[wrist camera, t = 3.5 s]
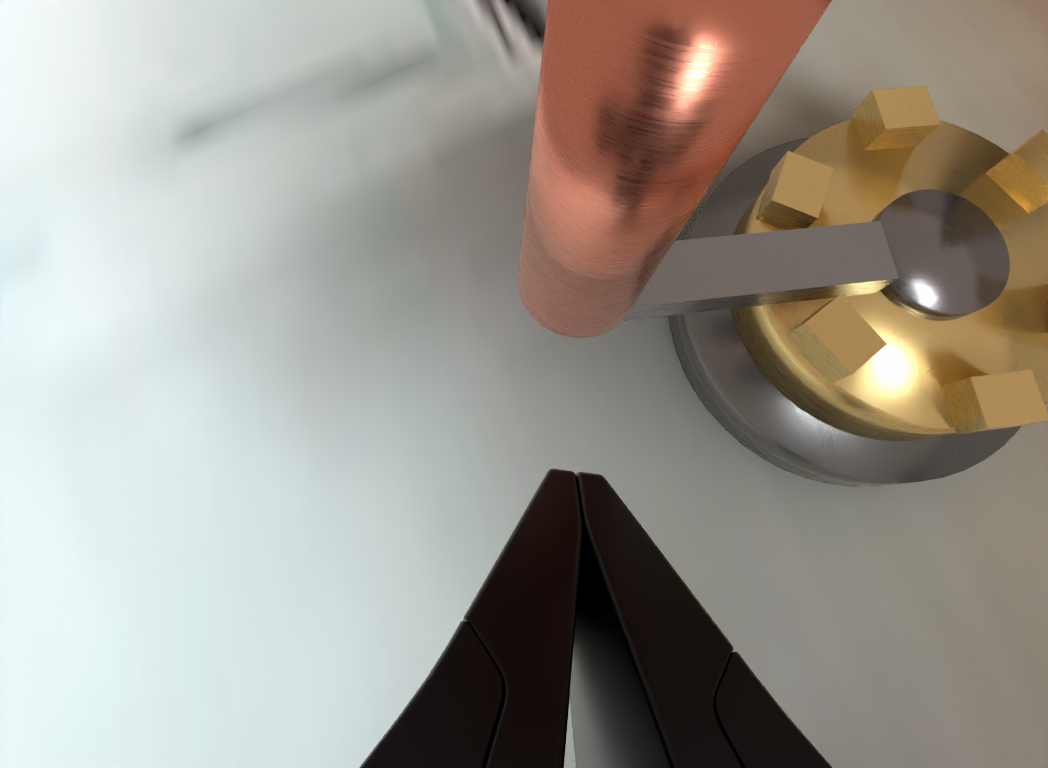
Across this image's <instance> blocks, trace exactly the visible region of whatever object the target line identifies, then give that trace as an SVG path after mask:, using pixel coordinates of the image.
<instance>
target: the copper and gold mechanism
mask: <svg viewBox="0 0 1048 768" xmlns="http://www.w3.org/2000/svg"><path fill="white" fill-rule="evenodd" d="M831 1H832V0H548V8H547V17H546V26H545V35H544V44H543V53H542V62H541V71H540V80H539V90H538V99H537V108H536V117H535V126H534V135H533V144H532V153H531V162H530V171H529V180H528V189H527V198H526V207H525V217H524V226H523V235H522V244H521V253H520V262H519V271H518V288H519V292H520V296H521V299H522V301H523V303H524V305H525V307H526V309H527V310H528V311H529V313H530V314H531V315H532V316H533V318H534V319H535V320H536V321H538V322H539V323H540V324H541V325H543V326H544V327H546V328H547V329H549V330H551V331H553V332H555V333H558V334H561V335H564V336H569V337H578V338H582V337H591V336H596V335H599V334H602V333H605V332H607V331H609V330H611V329H612V328H614V327H615V326H616V325H618V324H619V323H620V322H621V321H623V320H632V319H642V318H651V317H660V316H669V315H678V314H688V313H697V312H706V311H715V310H724V309H730V312H731V315H732V318H733V321H734V325H735V327H736V330H737V332H738V334H739V336H740V339H741V341H742V343H743V345H744V347H745V348H746V350H747V352H748V353H749V355H750V357H751V358H752V360H753V362H754V363H755V364H756V366H757V367H758V368H759V369H760V371H761V372H762V373H763V375H764V376H765V377H766V378H767V380H768V381H769V382H770V383H771V384H772V385H773V386H774V387H775V388H776V389H777V390H778V391H779V392H780V393H781V394H782V395H783V396H785V397H786V398H787V399H788V400H790V401H791V402H792V403H793V404H795V405H796V406H797V407H798V408H800V409H801V410H803V411H805V412H806V413H808V414H809V415H811V416H812V417H814V418H816V419H817V420H819V421H821V422H823V423H825V424H828V425H830V426H832V427H834V428H836V429H838V430H841V431H844V432H847V433H850V434H853V435H856V436H861V437H865V438H870V439H875V440H885V441H913V440H922V439H927V438H932V437H937V436H942V435H947V434H952V433H956V434H965V433H972V432H979V431H987V430H994V429H1001V428H1009V427H1016V426H1021V425H1027V424H1032V423H1037V422H1043V421H1048V413H1047V410H1046V407H1045V405H1044V404H1046V403H1047V402H1048V134H1047V133H1046V132H1045V131H1043V130H1041V131H1040V132H1039V133H1037V134H1036V135H1034V136H1033V137H1032V138H1030V139H1029V140H1027V141H1026V142H1025V143H1023V144H1022V145H1020V146H1019V147H1018V148H1016V149H1015V150H1013V151H1012V152H1011V153H1010V154H1009V153H1007V152H1006V151H1004V150H1003V149H1001V148H1000V147H999V146H997V145H995V144H993V143H992V142H990V141H988V140H986V139H985V138H983V137H981V136H979V135H977V134H975V133H973V132H970V131H968V130H966V129H963V128H961V127H959V126H956V125H953V124H949V123H946V122H943V121H940V120H939V118H938V116H937V113H936V110H935V107H934V105H933V102H932V99H931V97H930V94H929V91H928V88H927V86H921V87H907V88H893V89H880V90H872V91H871V92H870V93H869V95H868V96H867V97H866V98H865V99H864V100H863V101H862V103H861V104H860V105H859V106H858V107H857V108H856V109H855V111H854V112H853V113H852V116H853V119H850V120H846V121H842V122H840V123H837V124H835V125H833V126H830V127H828V128H826V129H824V130H822V131H820V132H819V133H817V134H815V135H814V136H812V137H811V138H809V139H808V140H806V141H805V142H804V143H803V144H802V145H801V146H799V147H798V148H797V149H796V150H795V151H794V152H790V151H787V153H786V154H785V155H784V156H783V158H782V159H781V160H780V161H779V163H778V164H777V165H776V166H775V168H774V169H773V170H772V171H771V174H770V177H769V180H768V183H767V184H766V186H765V187H764V188H763V189H762V190H761V192H760V193H759V194H758V195H757V197H756V198H755V199H754V200H753V202H752V203H751V204H750V205H749V206H748V208H747V209H746V211H745V212H744V214H743V216H742V217H741V219H740V220H739V222H738V224H737V227H736V229H735V231H734V233H733V235H729V236H719V237H708V238H698V239H688V240H677V241H675V240H676V239H677V237H678V236H679V234H680V232H681V231H682V229H683V228H684V226H685V225H686V223H687V222H688V220H689V219H690V217H691V216H692V214H693V213H694V211H695V209H696V208H697V206H698V205H699V203H700V202H701V200H702V199H703V197H704V196H705V194H706V193H707V191H708V190H709V188H710V186H711V185H712V183H713V182H714V180H715V179H716V177H717V176H718V174H719V173H720V171H721V170H722V168H723V166H724V165H725V163H726V162H727V160H728V159H729V157H730V156H731V154H732V153H733V151H734V150H735V148H736V147H737V145H738V143H739V142H740V140H741V139H742V137H743V136H744V134H745V133H746V131H747V130H748V128H749V127H750V125H751V124H752V122H753V120H754V119H755V117H756V116H757V114H758V113H759V111H760V110H761V108H762V107H763V105H764V104H765V102H766V100H767V99H768V97H769V96H770V94H771V93H772V91H773V90H774V88H775V87H776V85H777V84H778V82H779V81H780V79H781V77H782V76H783V74H784V73H785V71H786V70H787V68H788V67H789V65H790V64H791V62H792V61H793V59H794V57H795V56H796V54H797V53H798V51H799V50H800V48H801V47H802V45H803V44H804V42H805V41H806V39H807V38H808V36H809V34H810V33H811V31H812V30H813V28H814V27H815V25H816V24H817V22H818V21H819V19H820V18H821V16H822V15H823V13H824V11H825V10H826V8H827V7H828V5H829V4H830V2H831Z"/></svg>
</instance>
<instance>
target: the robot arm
mask: <svg viewBox="0 0 1048 768" xmlns="http://www.w3.org/2000/svg"><path fill="white" fill-rule="evenodd" d="M732 652H733V646H732V645H731V643H730V642H729V641H728V639H727V638H726V637H725V635H724V634H723V633H722V632H721V630H720V629H719V628H718V626H717V625H716V624H715V622H714V621H713V620H712V618H711V617H710V616H709V614H708V613H707V612H706V610H705V609H704V608H703V607H702V605H701V604H700V603H699V601H698V600H697V599H696V597H695V596H694V595H693V593H692V592H691V591H690V589H689V588H688V587H687V585H686V584H685V583H684V582H683V580H682V579H681V578H680V576H679V575H678V574H677V572H676V571H675V570H674V568H673V567H672V566H671V564H670V563H669V562H668V560H667V559H666V558H665V557H664V555H663V554H662V553H661V551H660V550H659V549H658V547H657V546H656V545H655V543H654V542H653V541H652V539H651V538H650V537H649V536H648V534H647V533H646V532H645V530H644V529H643V528H642V526H641V525H640V524H639V522H638V521H637V520H636V518H635V517H634V516H633V514H632V513H631V512H630V511H629V509H628V508H627V507H626V505H625V504H624V503H623V501H622V500H621V499H620V497H619V496H618V495H617V493H616V492H615V491H614V489H613V488H612V487H611V486H610V484H609V483H608V482H607V480H606V479H605V478H604V477H603V476H602V475H599V474H592V473H584V472H579V473H577V474H576V475H575V473H574V472H573V471H567V470H559V469H550V470H549V471H548V472H547V474H546V476H545V477H544V479H543V481H542V483H541V484H540V486H539V488H538V489H537V491H536V493H535V495H534V496H533V498H532V500H531V502H530V503H529V505H528V507H527V509H526V510H525V512H524V514H523V516H522V517H521V519H520V521H519V522H518V524H517V526H516V528H515V529H514V531H513V533H512V535H511V536H510V538H509V540H508V542H507V543H506V545H505V547H504V549H503V550H502V552H501V554H500V555H499V557H498V559H497V561H496V562H495V564H494V566H493V568H492V569H491V571H490V573H489V575H488V576H487V578H486V580H485V581H484V583H483V585H482V587H481V588H480V590H479V592H478V594H477V595H476V597H475V599H474V601H473V602H472V604H471V606H470V608H469V609H468V611H467V613H466V614H465V616H464V620H463V621H462V622H461V623H460V624H459V626H458V628H457V629H456V631H455V633H454V635H453V636H452V638H451V640H450V642H449V643H448V645H447V646H446V648H445V650H444V651H443V653H442V654H441V656H440V658H439V659H438V661H437V662H436V664H435V666H434V667H433V669H432V670H431V672H430V674H429V675H428V677H427V678H426V680H425V681H424V682H423V684H422V685H421V687H420V688H419V689H418V691H417V692H416V694H415V695H414V696H413V698H412V699H411V701H410V702H409V703H408V705H407V706H406V707H405V709H404V710H403V712H402V713H401V714H400V716H399V717H398V718H397V720H396V721H395V722H394V724H393V725H392V726H391V727H390V729H389V730H388V731H387V733H386V734H385V735H384V737H383V738H382V739H381V740H380V742H379V743H378V744H377V746H376V747H375V748H374V749H373V751H372V752H371V753H370V755H369V756H368V757H367V759H366V760H365V761H364V762H363V764H362V765H361V766H360V768H564V757H565V745H566V732H567V720H568V708H569V696H570V705H571V716H572V727H573V738H574V750H575V761H576V768H832V767H831V766H830V764H829V763H828V762H827V761H826V760H825V759H824V758H823V756H822V755H821V754H820V753H819V752H818V751H817V750H816V748H815V747H814V746H813V745H812V744H811V743H810V741H809V740H808V739H807V738H806V737H805V736H804V734H803V733H802V732H801V731H800V730H799V729H798V728H797V726H796V725H795V724H794V723H793V722H792V721H791V719H790V718H789V717H788V716H787V715H786V714H785V712H784V711H783V710H782V709H781V707H780V706H779V705H778V703H777V702H776V701H775V700H774V698H773V697H772V696H771V695H770V693H769V692H768V691H767V690H766V688H765V687H764V686H763V685H762V683H761V682H760V681H759V680H758V678H757V677H756V676H755V675H754V673H753V672H752V671H751V669H750V668H749V667H748V665H747V664H746V663H745V661H744V660H743V659H742V657H741V656H740V655H739V653H737V652H733V653H732Z"/></svg>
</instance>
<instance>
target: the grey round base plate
mask: <svg viewBox="0 0 1048 768" xmlns="http://www.w3.org/2000/svg"><path fill="white" fill-rule="evenodd" d="M808 139H809V138H805V139H801V140H796V141H792V142H788V143H784V144H782V145H779V146H776V147H774V148H771V149H768V150H766V151H764V152H762V153H760V154H759V155H757V156H755V157H753V158H751V159H749V160H748V161H747V162H745V163H744V164H743V165H741V166H740V167H739V168H737V169H736V170H734V171H733V172H732V173H731V174H730V175H729V176H728V177H727V178H726V179H725V180H724V181H723V182H722V183H721V184H720V185H719V186H718V188H717V189H716V190H715V192H714V193H713V195H712V196H711V197H710V199H709V200H708V201H707V203H706V204H705V206H704V207H703V209H702V210H701V212H700V213H699V215H698V216H697V218H696V219H695V221H694V222H693V224H692V225H691V227H690V228H689V230H688V231H687V233H686V235H685V237H684V239H683V240H688V239H698V238H708V237H719V236H729V235H733V233H734V231H735V229H736V227H737V224H738V222H739V220H740V219H741V217H742V216H743V214H744V212H745V211H746V209H747V208H748V206H749V205H750V204H751V203H752V202H753V200H754V199H755V198H756V197H757V195H758V194H759V193H760V192H761V190H762V189H763V188H764V187H765V186H766V184H767V183H768V180H769V177H770V174H771V171H772V170H773V169H774V168H775V166H776V165H777V164H778V163H779V161H780V160H781V159H782V158H783V156H784V155H785V154H786V153H787V151H790V152H794V151H795V150H796V149H797V148H798V147H799V146H801V145H802V144H803V143H804V142H805V141H806V140H808ZM669 318H670V327H671V332H672V336H673V340H674V345H675V349H676V351H677V354H678V357H679V359H680V362H681V365H682V367H683V370H684V372H685V374H686V375H687V377H688V379H689V381H690V383H691V385H692V387H693V389H694V391H695V392H696V393H697V395H698V396H699V398H700V399H701V401H702V402H703V404H704V405H705V406H706V408H707V409H708V410H709V412H710V413H711V414H712V415H713V416H714V417H715V418H716V420H717V421H718V422H719V423H720V424H721V425H722V426H723V427H724V428H725V429H726V430H727V431H728V432H729V433H730V434H731V435H733V436H734V437H735V438H736V439H737V440H738V441H739V442H740V443H741V444H743V445H744V446H746V447H747V448H749V449H750V450H751V451H753V452H754V453H756V454H757V455H759V456H760V457H761V458H763V459H765V460H767V461H769V462H771V463H773V464H774V465H776V466H778V467H780V468H782V469H784V470H786V471H789V472H792V473H794V474H797V475H799V476H802V477H805V478H808V479H812V480H816V481H820V482H824V483H828V484H835V485H844V486H880V485H890V484H900V483H910V482H919V481H925V480H931V479H937V478H942V477H945V476H948V475H951V474H954V473H957V472H961V471H964V470H966V469H968V468H970V467H972V466H973V465H975V464H977V463H979V462H981V461H983V460H985V459H986V458H988V457H989V456H990V455H992V454H993V453H994V452H996V451H997V450H998V449H1000V448H1001V447H1003V446H1004V444H1005V443H1006V442H1007V441H1008V440H1009V439H1010V438H1011V437H1012V436H1013V435H1014V434H1015V433H1016V432H1017V431H1018V430H1019V428H1020V427H1021V426H1016V427H1009V428H1001V429H994V430H987V431H979V432H972V433H965V434H956V433H952V434H947V435H942V436H937V437H932V438H927V439H922V440H913V441H885V440H875V439H870V438H865V437H861V436H856V435H853V434H850V433H847V432H844V431H841V430H838V429H836V428H834V427H832V426H830V425H828V424H825V423H823V422H821V421H819V420H817V419H816V418H814V417H812V416H811V415H809V414H808V413H806V412H805V411H803V410H801V409H800V408H798V407H797V406H796V405H795V404H793V403H792V402H791V401H790V400H788V399H787V398H786V397H785V396H783V395H782V394H781V393H780V392H779V391H778V390H777V389H776V388H775V387H774V386H773V385H772V384H771V383H770V382H769V381H768V380H767V378H766V377H765V376H764V375H763V373H762V372H761V371H760V369H759V368H758V367H757V366H756V364H755V363H754V362H753V360H752V358H751V357H750V355H749V353H748V352H747V350H746V348H745V347H744V345H743V343H742V341H741V339H740V336H739V334H738V332H737V330H736V327H735V325H734V321H733V318H732V315H731V312H730V309H724V310H715V311H706V312H697V313H688V314H678V315H669Z"/></svg>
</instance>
